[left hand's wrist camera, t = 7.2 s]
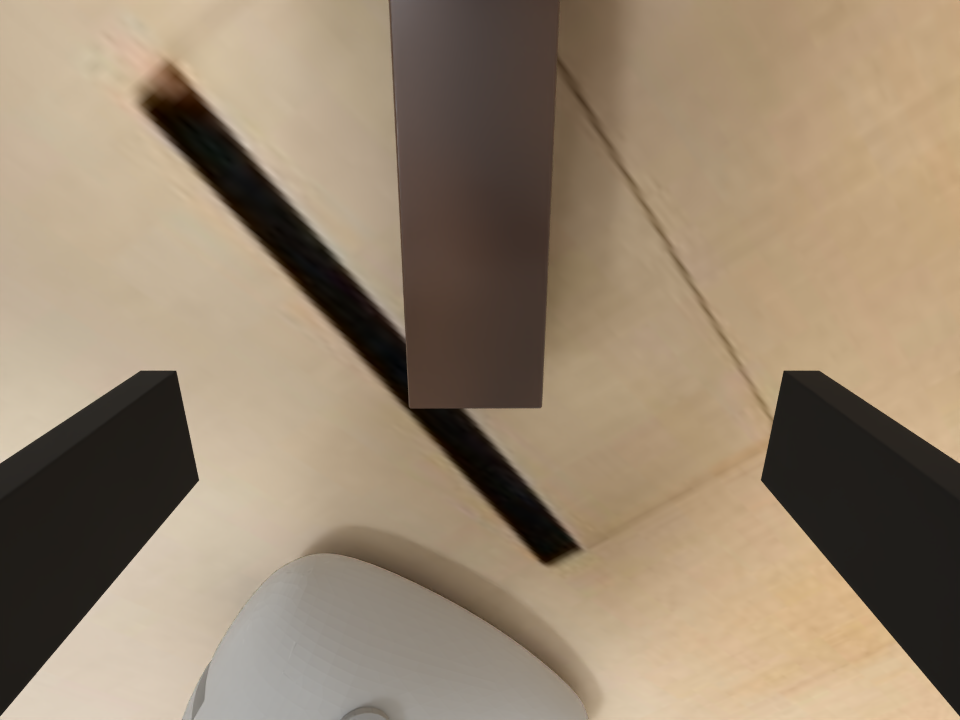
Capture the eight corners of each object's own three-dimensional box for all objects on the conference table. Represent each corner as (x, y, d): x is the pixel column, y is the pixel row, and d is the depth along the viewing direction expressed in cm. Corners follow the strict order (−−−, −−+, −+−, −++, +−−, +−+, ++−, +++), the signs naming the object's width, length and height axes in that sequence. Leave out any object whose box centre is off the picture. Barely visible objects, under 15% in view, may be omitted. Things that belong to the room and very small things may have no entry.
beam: (426, 339, 28) (409, 409, 21) (401, -379, 19) (352, -713, 12) (524, 339, 29) (542, 408, 21) (547, -379, 19) (591, -711, 12)
